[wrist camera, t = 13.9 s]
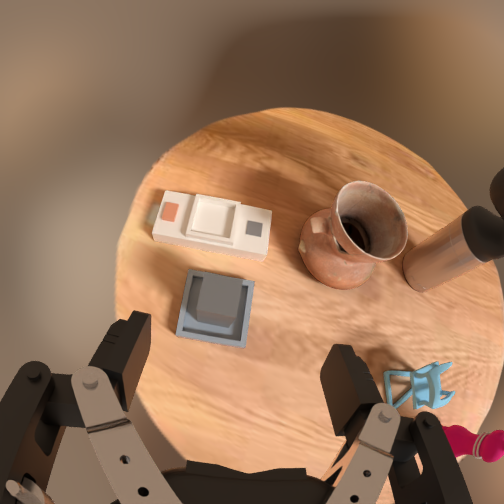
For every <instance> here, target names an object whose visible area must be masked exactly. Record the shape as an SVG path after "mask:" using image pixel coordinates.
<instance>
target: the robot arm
mask: <svg viewBox="0 0 504 504" xmlns="http://www.w3.org/2000/svg"><path fill="white" fill-rule="evenodd" d="M490 197H491V200H492V202H493V204H494V206H495V208H496V210H497V211H498V213H499V214H500V215H501V217H502V218H501V217H498V216H496V215H494V214H493V213H491V212H490V211H488V210H487V209H485V208H483V207H481V206H474V207H472V208H470V209H469V210H467V211H466V212H465V213H463V214H462V215H461V216H459V217H458V218H457V219H455V220H454V221H453V222H451V223H450V224H448V225H447V226H445V227H444V228H442V229H440V230H439V231H437V232H436V233H435V234H433V235H432V236H430V237H429V238H427V239H426V240H424V241H423V242H421V243H420V244H418V245H417V246H415V248H413V249H412V250H410V251H409V252H407V253H406V255H405V257H404V259H403V272H404V275H405V278H406V280H407V282H408V283H409V285H410V286H411V287H412V288H413V289H415V290H416V291H419V292H426V291H428V290H430V289H433V288H435V287H437V286H440V285H442V284H444V283H446V282H448V281H450V280H453V279H455V278H457V277H459V276H461V275H463V274H465V273H467V272H469V271H471V270H473V269H475V268H477V267H479V266H481V265H483V264H485V263H486V262H488V261H490V260H493V259H499V258H501V257H504V168H503V169H501V170H500V171H499V172H498V173H497V174H496V176H495V177H494V179H493V180H492V183H491V185H490ZM150 345H151V314H148V313H144V312H139V311H135V310H134V311H133V312H132V314H131V315H130V317H129V319H128V321H126V320H122V319H119V320H118V321H116V322H115V323H114V324H112V325H111V326H110V328H109V330H108V332H107V334H106V335H105V337H104V339H103V341H102V342H101V344H100V345H99V347H98V349H97V350H96V352H95V354H94V356H93V357H92V359H91V361H90V363H89V365H88V366H86V367H82V368H80V369H78V370H77V371H75V372H74V374H71V375H66V374H54V373H51V371H50V369H49V368H48V366H47V365H45V364H44V363H42V362H39V361H31V362H28V363H26V364H24V365H23V366H22V367H21V368H20V369H19V371H18V373H17V374H16V376H15V377H14V379H13V381H12V383H11V384H10V386H9V388H8V389H7V391H6V393H5V395H4V397H3V398H2V400H1V402H0V504H55V503H54V501H53V500H52V498H51V497H50V496H49V495H48V494H47V493H46V488H47V485H48V481H49V477H50V474H51V470H52V468H53V464H54V461H55V458H56V454H57V452H58V449H59V446H60V443H61V440H62V437H63V434H64V432H65V429H66V426H69V427H81V428H86V429H87V433H88V435H89V438H90V441H91V443H92V445H93V448H94V450H95V452H96V455H97V457H98V459H99V462H100V464H101V466H102V468H103V470H104V472H105V474H106V476H107V478H108V480H109V483H110V484H111V486H112V488H113V490H114V492H115V494H116V496H117V498H118V499H117V500H115V501H114V502H112V503H111V504H376V501H377V499H378V497H379V495H380V492H381V490H382V488H383V485H384V483H385V480H386V478H387V475H388V477H389V480H390V484H391V488H392V492H393V496H394V500H395V504H473V502H472V500H471V497H470V494H469V491H468V488H467V486H466V483H465V480H464V478H463V475H462V472H461V470H460V467H459V465H458V462H457V460H456V458H455V455H454V453H453V450H452V448H451V446H450V443H449V441H448V439H447V437H446V434H445V432H444V430H443V428H442V426H441V424H440V421H439V420H438V418H437V417H436V416H435V415H434V414H432V413H430V412H420V413H419V414H418V415H417V416H416V417H415V418H414V419H413V418H407V417H402V416H400V415H399V413H398V411H397V410H396V409H395V408H394V407H393V406H391V405H389V404H386V403H384V402H383V400H382V397H381V395H380V393H379V391H378V388H377V386H376V384H375V382H374V381H373V377H372V375H371V374H370V371H369V369H368V367H367V365H366V363H365V362H364V361H363V360H362V359H361V358H360V357H359V356H356V355H355V352H354V350H353V348H352V346H351V345H343V344H334V345H333V346H332V348H331V350H330V352H329V354H328V356H327V358H326V360H325V362H324V364H323V366H322V368H321V372H320V380H321V384H322V388H323V391H324V395H325V399H326V402H327V406H328V410H329V413H330V417H331V421H332V425H333V428H334V432H335V436H345V437H346V440H345V442H344V443H343V445H342V446H341V448H340V450H339V452H338V453H337V455H336V457H335V458H334V460H333V462H332V463H331V465H330V467H329V468H328V470H327V471H326V473H325V474H324V475H323V477H322V478H321V479H318V478H315V477H312V476H309V475H307V474H306V468H278V469H273V470H268V471H262V472H257V473H250V474H248V473H243V472H240V471H236V470H233V469H230V468H227V467H223V466H220V465H217V464H209V463H202V462H195V461H189V460H187V465H186V467H177V468H171V469H167V470H164V471H162V472H160V471H159V469H158V468H157V466H156V465H155V463H154V461H153V459H152V458H151V456H150V454H149V453H148V451H147V449H146V448H145V446H144V444H143V443H142V441H141V439H140V437H139V435H138V433H137V432H136V430H135V428H134V426H133V424H132V422H131V421H130V420H128V419H127V418H126V416H125V414H124V412H123V411H126V412H128V411H129V408H130V405H131V402H132V399H133V396H134V393H135V390H136V387H137V385H138V382H139V379H140V376H141V373H142V371H143V368H144V365H145V363H146V360H147V357H148V354H149V351H150ZM417 453H418V454H419V457H420V460H421V462H422V465H423V472H422V474H421V475H420V472H419V469H418V466H417V463H416V460H415V457H414V456H415V455H416V454H417Z"/></svg>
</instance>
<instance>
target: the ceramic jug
mask: <svg viewBox="0 0 504 504" xmlns="http://www.w3.org/2000/svg"><path fill="white" fill-rule="evenodd" d="M407 238H408V231H407V222H406V219H405V216H404V214H403V212H402V210H401V208H400V207H399V205H398V203H397V202H396V201H395V199H394V198H393V197H391V195H390V194H389V193H387V192H386V191H385V190H383V189H382V188H380V187H378V186H377V185H375V184H372V183H369V182H366V181H354V182H350V183H348V184H346V185H344V186H343V187H342V188H341V189H340V190H339V192H338V193H337V195H336V197H335V199H334V201H333V204H332V207H331V208H327V209H323V210H320V211H318V212H316V213H314V214H313V215H311V216H310V217H309V218H308V220H307V221H306V222H305V224H304V226H303V228H302V231H301V236H300V244H299V247H298V250H299V252H300V255H301V257H302V259H303V262H304V264H305V265H306V267H307V269H308V270H309V271H310V273H311V274H312V275H313V276H314V277H315V278H316V279H317V280H318V281H320V282H321V283H323V284H325V285H327V286H329V287H331V288H335V289H341V290H347V289H353V288H356V287H358V286H360V285H362V284H363V283H365V282H366V281H367V280H368V279H369V278H370V276H371V275H372V273H373V271H374V269H375V266H376V263H378V262H383V261H387V260H390V259H393V258H395V257H396V256H398V255H399V254H400V253H401V252H402V250H403V249H404V247H405V245H406V243H407Z"/></svg>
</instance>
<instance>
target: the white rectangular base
mask: <svg viewBox="0 0 504 504" xmlns="http://www.w3.org/2000/svg"><path fill="white" fill-rule="evenodd" d="M240 203H241V202H237V201H232V200H227V199H222V198H217V197H211V196H206V195H200V194H196V196H195V195H190V194H184V193H178V192H172V191H165V194H164V196H163V199H162V202H161V205H160V208H159V212H158V215H157V218H156V221H155V224H154V227H153V231H152V235H153V238H154V241H157V242H162V243H167V244H172V245H177V246H183V247H188V248H193V249H198V250H203V251H208V252H214V253H219V254H224V255H229V256H235V257H240V258H245V259H251V260H256V261H261V262H263V261H264V259H265V258H266V256H267V251H268V243H269V234H270V226H271V217H272V210H267V209H262V208H257V207H252V206H247V205H243V204H240Z"/></svg>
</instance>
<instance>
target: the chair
mask: <svg viewBox="0 0 504 504" xmlns="http://www.w3.org/2000/svg"><path fill="white" fill-rule="evenodd" d="M451 365H452V362H448V363H444V364H441V365H439V363H438V362H434V363H431V364H429V365H426V366H424V367H422V368H420V369H418V370H415V371H413V372H410V371H385V372H384V373H383V375H384V382H385V390H386V398H387V404H389V405H391V406H393V407H394V408H395V409H397V408H398V407H399V406H400V405H401V404H403V403H404V402H405V401H406V400H407V399H408V398H409V397H410V396H411V395H412V394H413V409H418V408H420V407H422V406H424V405H427V406H428V407H430V408H432V409H436V408H439V407H442V406H444V405H446V404H447V403H448V402H449V401H450V400H451V398H452V396H453V395H454V394H455V391H451V392H449V391H443V390H441V383H440V374H441V373H442V372H444V371H446V370H447V369H448V368H449V367H450V366H451ZM390 375H398V376H409V377H410V381H411V386H412V388H411V389H410V390H409V391H407V392H406V393H405V394H404V395H403V396H402V397H401V398H400V399H399V400H398V401H397V402H396V403H395V404H394V405H392V394H391V385H390V377H389V376H390ZM442 395H447V396H446V397H445V398H443V399H440V397H441V396H442Z"/></svg>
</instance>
